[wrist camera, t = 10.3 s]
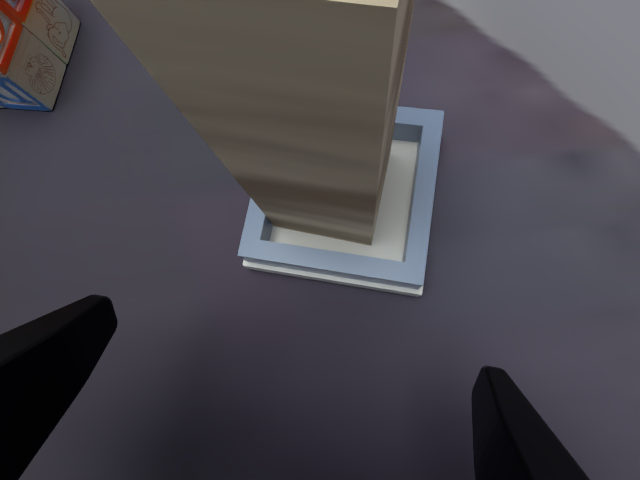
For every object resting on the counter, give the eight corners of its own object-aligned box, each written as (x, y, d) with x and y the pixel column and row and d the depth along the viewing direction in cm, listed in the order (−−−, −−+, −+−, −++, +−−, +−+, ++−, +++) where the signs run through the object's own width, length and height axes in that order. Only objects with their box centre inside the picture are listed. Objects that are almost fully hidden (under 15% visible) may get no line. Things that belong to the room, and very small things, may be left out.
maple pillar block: (371, 245, 17) (403, -58, 4) (274, 226, 18) (17, -89, 5) (390, 153, 18) (470, -351, 5) (297, 138, 19) (140, -341, 5)
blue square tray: (418, 297, 17) (427, 291, 15) (248, 268, 19) (231, 259, 16) (438, 135, 19) (449, 107, 17) (281, 119, 20) (270, 90, 18)
